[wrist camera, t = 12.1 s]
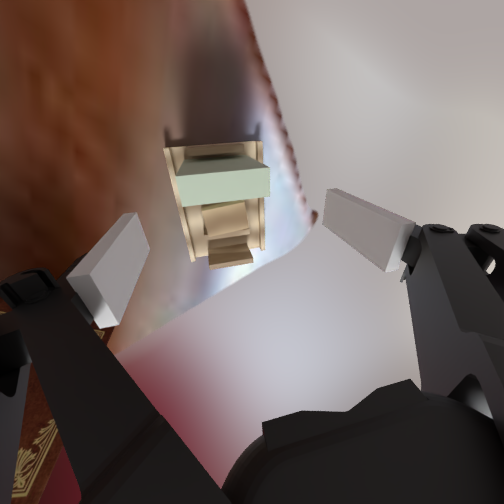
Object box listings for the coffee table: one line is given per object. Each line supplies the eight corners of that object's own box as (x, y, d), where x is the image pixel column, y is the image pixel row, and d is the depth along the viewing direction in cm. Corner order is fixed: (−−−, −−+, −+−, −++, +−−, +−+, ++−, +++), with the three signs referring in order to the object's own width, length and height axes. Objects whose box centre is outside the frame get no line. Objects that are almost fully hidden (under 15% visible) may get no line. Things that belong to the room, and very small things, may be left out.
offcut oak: (201, 204, 33) (201, 211, 31) (240, 196, 34) (244, 202, 31) (208, 228, 36) (208, 237, 33) (245, 220, 36) (248, 228, 34)
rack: (261, 244, 45) (271, 261, 39) (191, 255, 43) (190, 275, 37) (258, 140, 34) (270, 142, 29) (165, 147, 32) (157, 151, 26)
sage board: (184, 159, 33) (175, 176, 21) (245, 154, 34) (269, 167, 22) (188, 180, 34) (182, 206, 23) (246, 174, 36) (269, 196, 24)
